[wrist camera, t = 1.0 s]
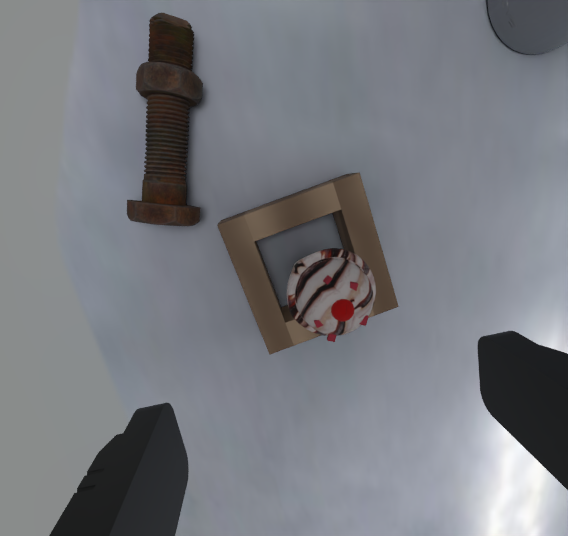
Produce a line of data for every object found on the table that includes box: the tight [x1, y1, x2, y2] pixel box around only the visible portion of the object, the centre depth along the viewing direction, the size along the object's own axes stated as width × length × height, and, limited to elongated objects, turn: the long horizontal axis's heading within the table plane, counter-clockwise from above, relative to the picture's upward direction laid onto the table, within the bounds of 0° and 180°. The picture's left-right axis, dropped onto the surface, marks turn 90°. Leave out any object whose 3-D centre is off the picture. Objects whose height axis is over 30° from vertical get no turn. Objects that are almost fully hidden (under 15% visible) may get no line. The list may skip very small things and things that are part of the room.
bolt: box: [127, 13, 203, 226], centre depth 28 cm, size 6×5×15 cm
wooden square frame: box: [217, 173, 399, 354], centre depth 31 cm, size 12×12×4 cm
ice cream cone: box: [287, 248, 376, 342], centre depth 26 cm, size 6×6×15 cm
